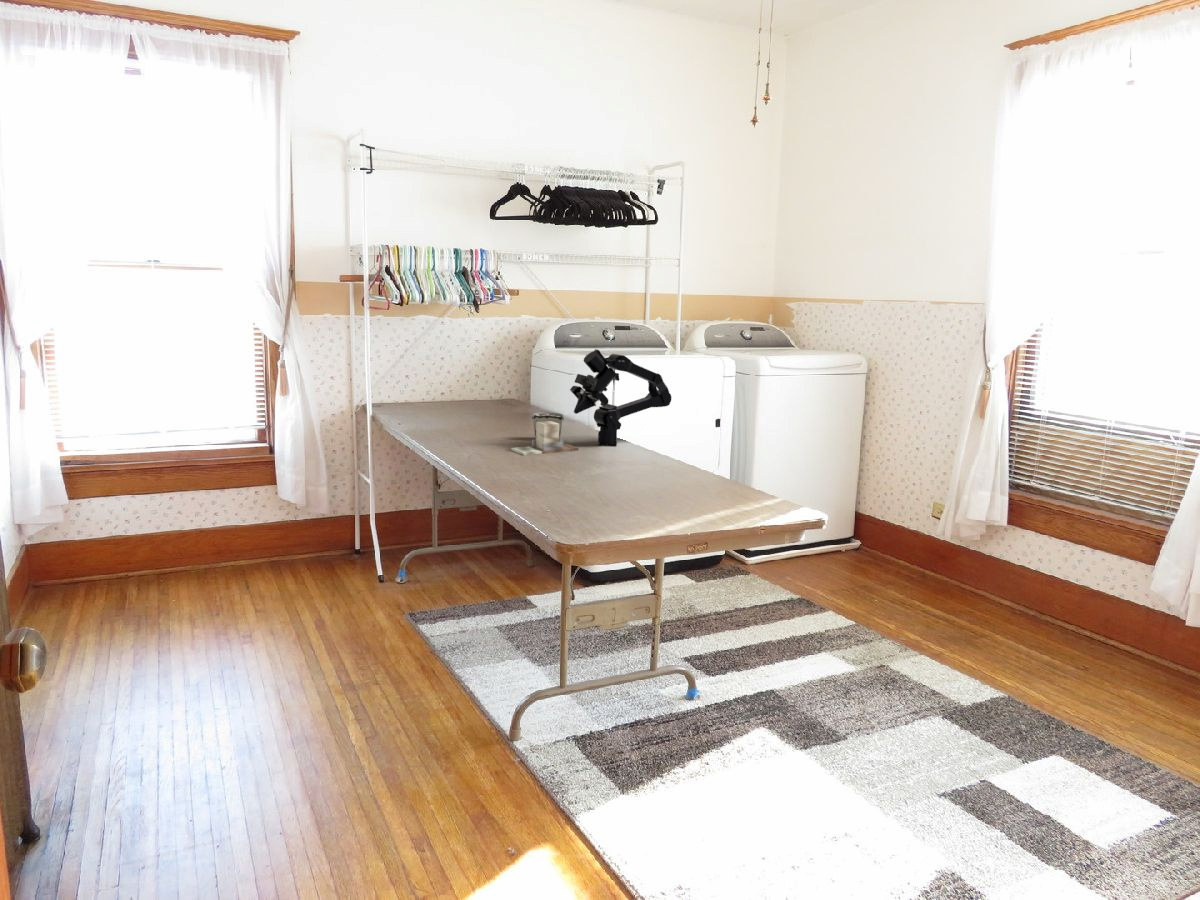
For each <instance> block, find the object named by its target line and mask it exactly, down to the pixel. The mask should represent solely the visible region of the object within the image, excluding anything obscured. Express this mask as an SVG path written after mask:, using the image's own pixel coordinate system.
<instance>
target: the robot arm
mask: <svg viewBox="0 0 1200 900" xmlns="http://www.w3.org/2000/svg"><path fill="white" fill-rule="evenodd" d="M583 363H584V364H585V365H586V366H587V367H588V368H589V369H590V371H591V372H592V373H594V374H595V373H597V374H596V375H595V376H594V375H591V374H587V375H584V374H580V373H577V374H576V376H575V379H574V383H575V384H579V385H580V386H579V385H572V387H570V389H569V391H570V392H571V393H572V394H573V395H574V397H576V399H577V402H576V404H575V407H574V410H573V413H574V414H575V415H576V414H579V413H581V412H584V411H585V410H588V409H590V408H592V407H596V406H597V402H599V401H600V406H598V408H597V409H596V410H594V414H593V420H594V421H595V424H596V426H597V427H598V428H599V430H598V434H597V443H598V445H599V446H607V447H609V446H610V447H611V446H612V447H613V446H614V447H617V445H618V440H617V439H618V436H617V434H618V430H621V427H622V422H621V421H620V420H621V419H622V418H624V417H627V416H629V415H633V414H636V413H639V412H642V411H644V410H647V409H650V408H665V407H668V406H670V405H671V402H672V394H671V393H670V391H669V387H668V386H667V384H666V383H665V381H664V380H663V377H662V375H661V374H660V373H657V372H654V371H652V370H650V369H648V368H645V367H642V366H641V365H638V364H636V363H634V362H633V361H632V360H631V359H629V357H627V356H626V355H623V354H617V353H611V354H610V355H609V356H608V357H604V355H603V354H602V353H601V351H600V349H596V348H595V349H594V350H592V351H591V352H589V353H588V354H586V355H585V357H584V358H583ZM615 371H619V372H625V373H628V374H631V375H633V376H635V377H638V378H640V379H642V380H644V381H647V383H648V387H647V389H648V394H646V395H645V397H642V398H638V399H636V400H635V399H634V400H633V401H630V402H627V403H623V404H621V405H614V404H610V403H609V398H608V397H607V396H606V395H605V394H604V393H603V392H607V391H608V388H607V387H608V386H609V385H610V383H611V382H612V381H617V382H618V381H620V373H618V372H615Z"/></svg>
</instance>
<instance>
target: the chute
mask: <svg viewBox="0 0 1200 900" xmlns="http://www.w3.org/2000/svg"><path fill="white" fill-rule="evenodd" d="M510 451H512V452H514V453H518V454H519V455H522V456H530V455H531V456H532V455H542V454H551V453H552V454H553V453H562V452H572V451H574V452H575V451H579V447H576V446H573V445H570V444H567V443H565V442H564V441H559V442H553V443H542V449H541V448H538V447H536V439H535V438H534V439H531V445H530V446H529V445H527V446H518V447H511V449H510Z"/></svg>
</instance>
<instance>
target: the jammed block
mask: <svg viewBox="0 0 1200 900" xmlns="http://www.w3.org/2000/svg"><path fill="white" fill-rule="evenodd" d="M553 442H560V441H559V423H556V422H552V421H546V422H536V447H538V448H541V449H542V443H553Z"/></svg>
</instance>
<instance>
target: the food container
mask: <svg viewBox="0 0 1200 900" xmlns="http://www.w3.org/2000/svg"><path fill="white" fill-rule="evenodd" d="M531 420H533V426H534V427H533V428H534V439H536V422H546V421H552V422H556V423H559V442H561V436H562V428H563V427H562V425H563V421H565V417H564V415H563V413H559V412H554V411H553V412H550V411H549V412H548V411H547V412H546V411H544V412H543V411H542V412H534V413H533V414H532V416H531Z"/></svg>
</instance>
